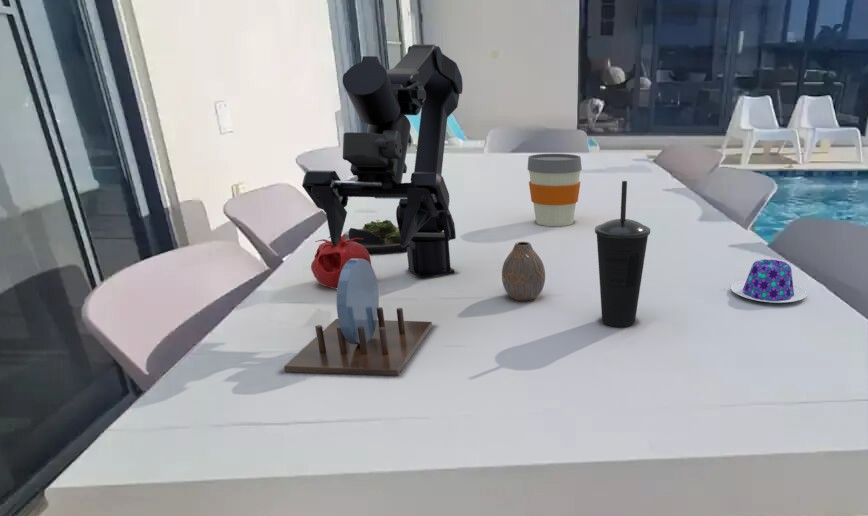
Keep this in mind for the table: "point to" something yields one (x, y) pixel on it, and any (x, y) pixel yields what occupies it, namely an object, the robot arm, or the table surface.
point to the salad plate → (378, 237)
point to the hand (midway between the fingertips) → (368, 245)
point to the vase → (523, 273)
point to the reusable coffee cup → (554, 187)
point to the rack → (362, 348)
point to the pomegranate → (335, 259)
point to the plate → (357, 300)
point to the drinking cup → (620, 266)
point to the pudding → (769, 283)
